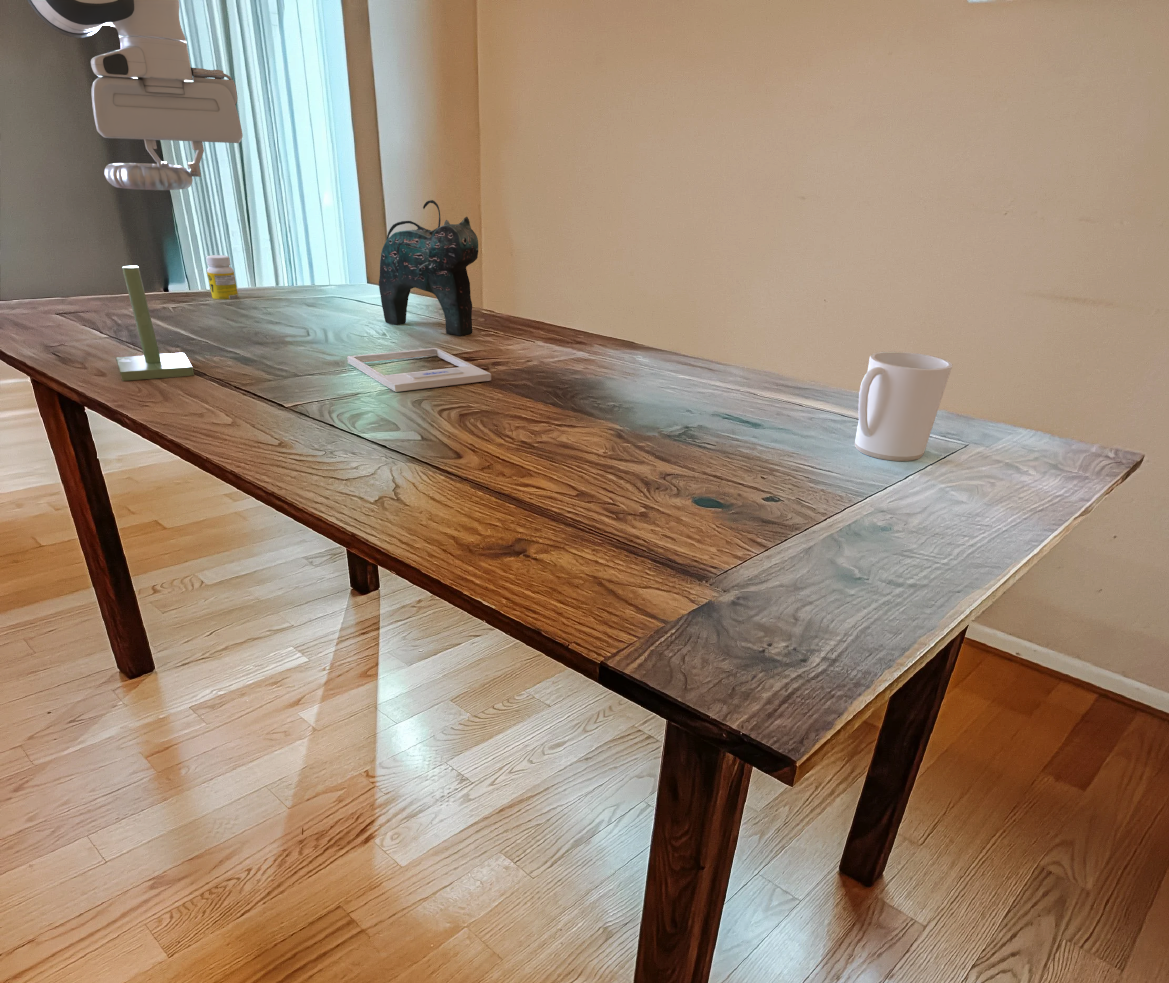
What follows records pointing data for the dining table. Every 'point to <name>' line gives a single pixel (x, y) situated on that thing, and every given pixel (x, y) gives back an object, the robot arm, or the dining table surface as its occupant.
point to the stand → (148, 340)
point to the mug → (899, 404)
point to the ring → (147, 176)
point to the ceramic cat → (429, 271)
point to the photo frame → (421, 378)
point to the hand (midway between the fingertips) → (180, 176)
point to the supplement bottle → (221, 277)
